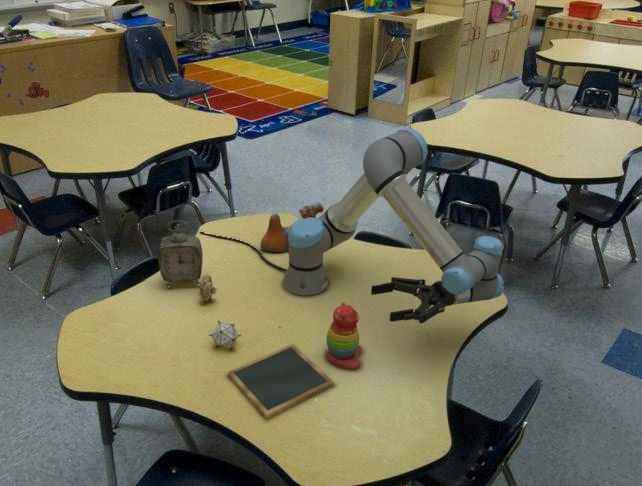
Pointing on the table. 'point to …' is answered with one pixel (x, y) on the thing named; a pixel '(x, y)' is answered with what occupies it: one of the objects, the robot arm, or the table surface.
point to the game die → (225, 335)
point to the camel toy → (285, 229)
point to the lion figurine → (207, 288)
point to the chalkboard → (280, 380)
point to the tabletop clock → (180, 257)
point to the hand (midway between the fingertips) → (380, 303)
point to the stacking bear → (344, 338)
